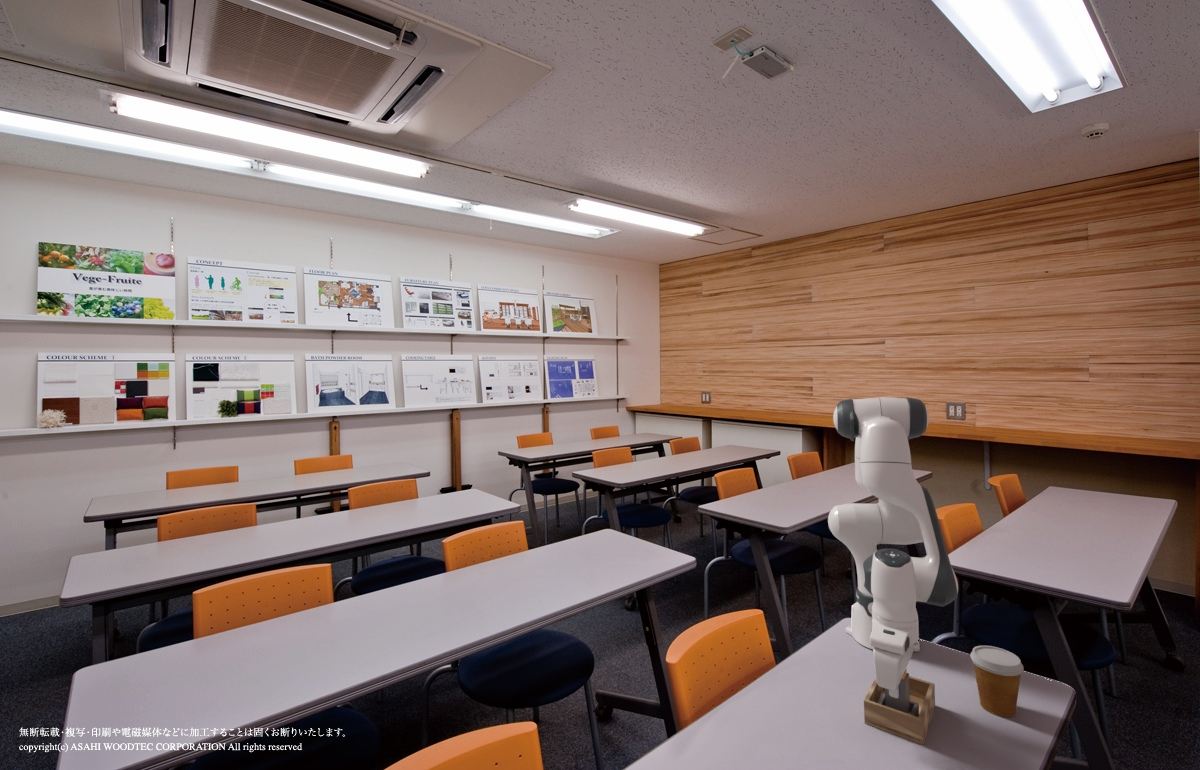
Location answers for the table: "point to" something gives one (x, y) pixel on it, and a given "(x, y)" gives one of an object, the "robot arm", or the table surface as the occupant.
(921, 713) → the box
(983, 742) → the table surface
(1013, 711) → the disposable coffee cup
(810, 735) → the table surface
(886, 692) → the block
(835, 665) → the table surface
